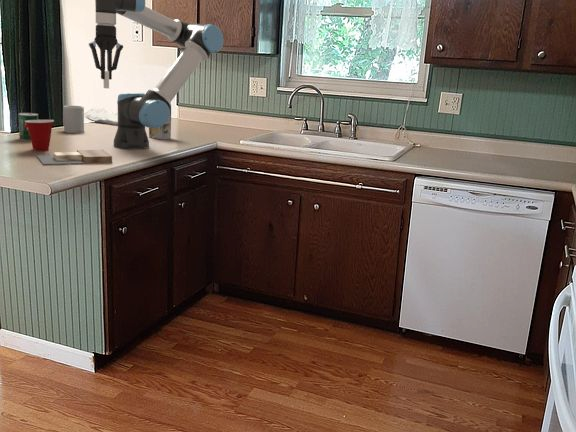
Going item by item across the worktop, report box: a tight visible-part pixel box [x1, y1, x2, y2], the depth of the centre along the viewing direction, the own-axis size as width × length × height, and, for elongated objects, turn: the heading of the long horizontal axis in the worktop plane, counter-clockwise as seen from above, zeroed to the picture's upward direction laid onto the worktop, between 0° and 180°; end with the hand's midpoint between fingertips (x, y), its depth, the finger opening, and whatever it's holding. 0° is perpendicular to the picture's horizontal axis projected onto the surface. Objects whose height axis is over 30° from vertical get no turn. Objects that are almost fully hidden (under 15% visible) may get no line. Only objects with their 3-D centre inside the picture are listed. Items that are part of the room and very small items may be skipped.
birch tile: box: [53, 151, 82, 161], centre depth 226 cm, size 9×6×2 cm, turn 120°
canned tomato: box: [17, 112, 39, 142], centre depth 261 cm, size 8×8×11 cm
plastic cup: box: [25, 119, 55, 152], centre depth 241 cm, size 11×11×12 cm
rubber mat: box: [36, 154, 85, 166], centre depth 225 cm, size 14×16×1 cm
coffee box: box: [148, 107, 172, 140], centre depth 291 cm, size 9×6×16 cm
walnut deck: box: [76, 149, 113, 165], centre depth 231 cm, size 10×14×2 cm
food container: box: [84, 106, 118, 126], centre depth 327 cm, size 12×30×6 cm, turn 62°
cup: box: [63, 105, 85, 134], centre depth 291 cm, size 9×9×12 cm
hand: (106, 88), depth 235 cm, fingers closed
